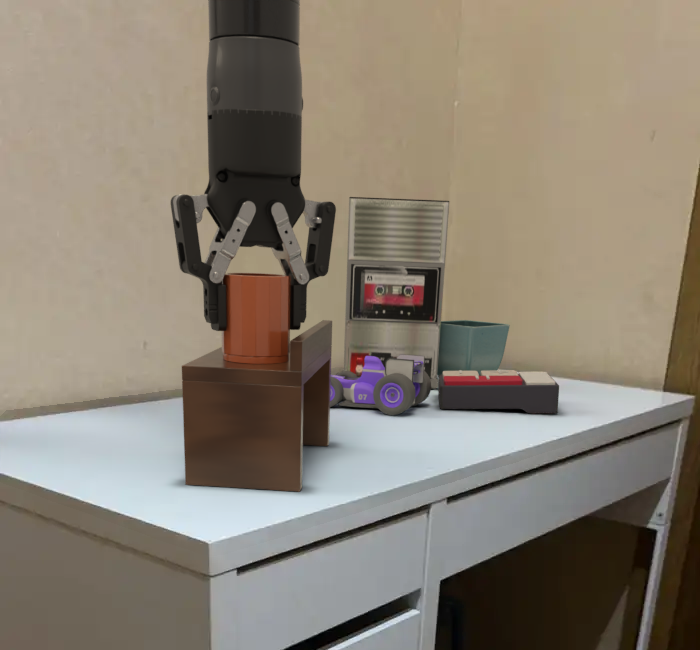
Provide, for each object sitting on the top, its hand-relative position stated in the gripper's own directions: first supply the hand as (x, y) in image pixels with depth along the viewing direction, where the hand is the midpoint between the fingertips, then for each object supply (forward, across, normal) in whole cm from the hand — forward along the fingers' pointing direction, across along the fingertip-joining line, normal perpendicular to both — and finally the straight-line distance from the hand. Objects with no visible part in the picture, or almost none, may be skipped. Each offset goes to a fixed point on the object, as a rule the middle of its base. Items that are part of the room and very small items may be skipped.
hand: (255, 328), depth 81 cm
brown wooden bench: (+13, -2, -3) cm, 13 cm away
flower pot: (+13, -49, -42) cm, 66 cm away
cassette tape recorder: (+13, -38, -44) cm, 59 cm away
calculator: (+13, -44, -25) cm, 52 cm away
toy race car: (+13, -26, -29) cm, 41 cm away
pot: (+3, 0, 0) cm, 3 cm away
